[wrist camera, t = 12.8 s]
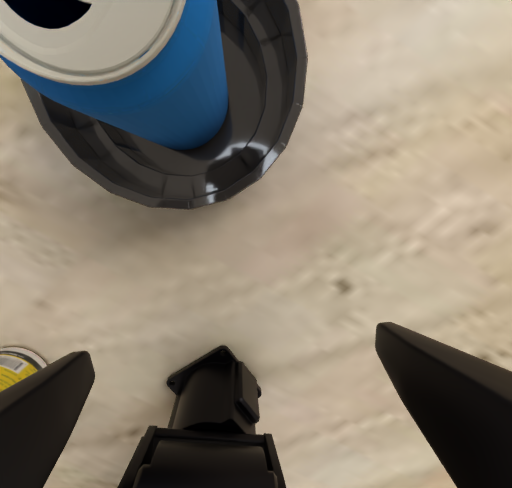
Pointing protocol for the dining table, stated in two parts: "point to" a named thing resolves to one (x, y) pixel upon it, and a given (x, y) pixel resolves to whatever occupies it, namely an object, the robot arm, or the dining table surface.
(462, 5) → the dining table surface
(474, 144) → the dining table surface
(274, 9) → the dark grey bowl
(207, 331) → the dining table surface
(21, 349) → the supplement bottle
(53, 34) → the beverage can
